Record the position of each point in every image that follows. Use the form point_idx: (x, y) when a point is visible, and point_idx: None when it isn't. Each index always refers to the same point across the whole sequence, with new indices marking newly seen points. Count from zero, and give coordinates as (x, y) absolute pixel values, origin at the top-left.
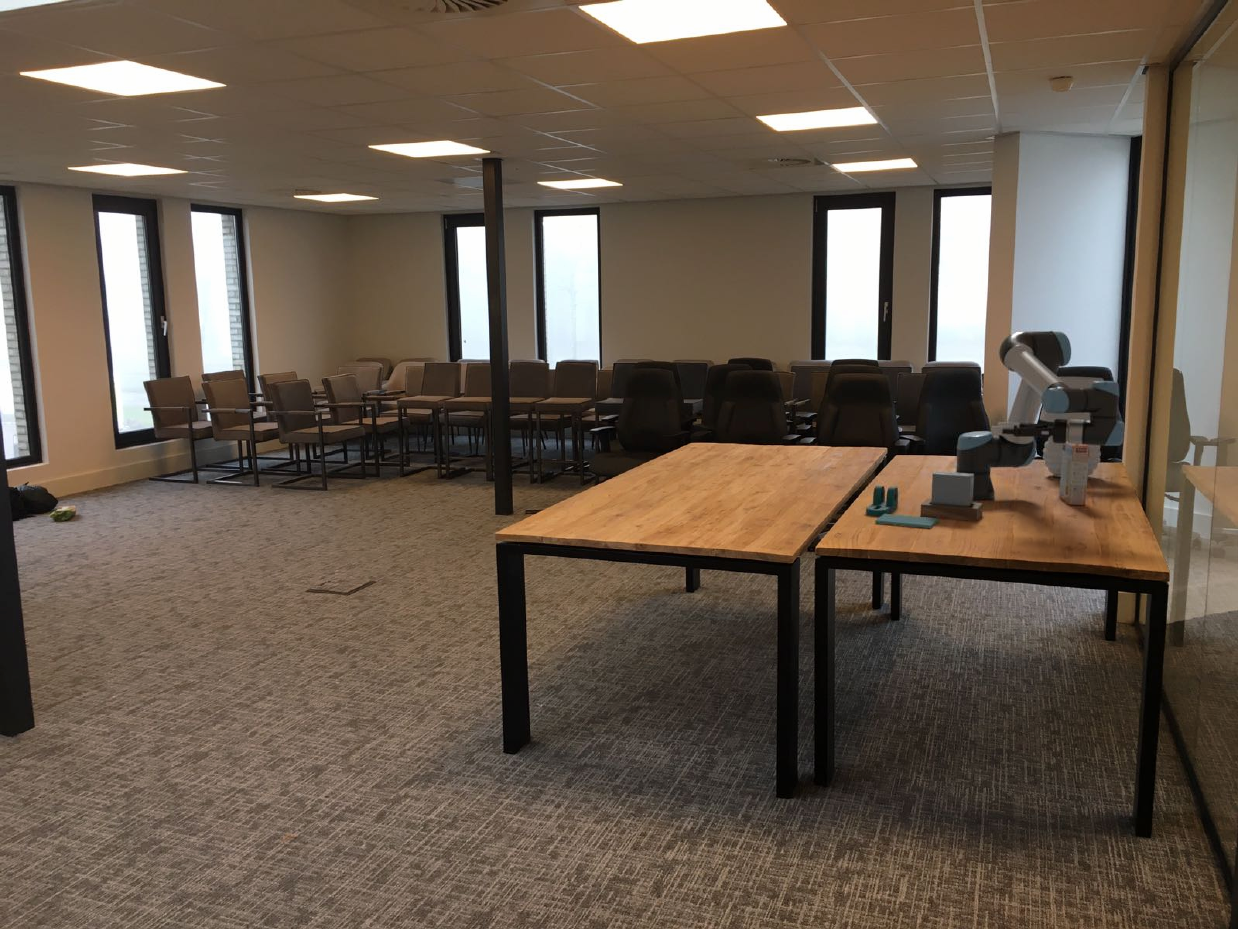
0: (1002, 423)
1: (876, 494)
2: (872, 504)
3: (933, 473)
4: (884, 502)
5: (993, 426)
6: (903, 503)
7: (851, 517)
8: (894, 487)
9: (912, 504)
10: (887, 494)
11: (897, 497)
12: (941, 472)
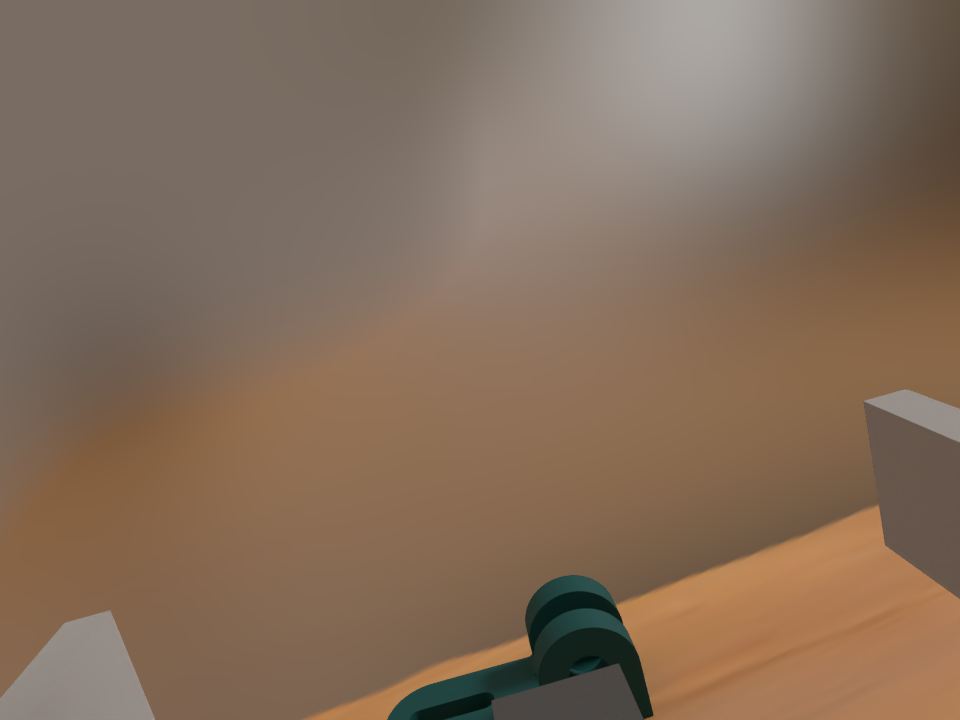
0: (923, 445)
1: (526, 626)
2: (510, 665)
3: (510, 696)
4: (590, 666)
5: (46, 647)
6: (784, 676)
7: (330, 716)
8: (569, 628)
9: (802, 710)
10: (534, 652)
11: (629, 670)
12: (591, 704)
